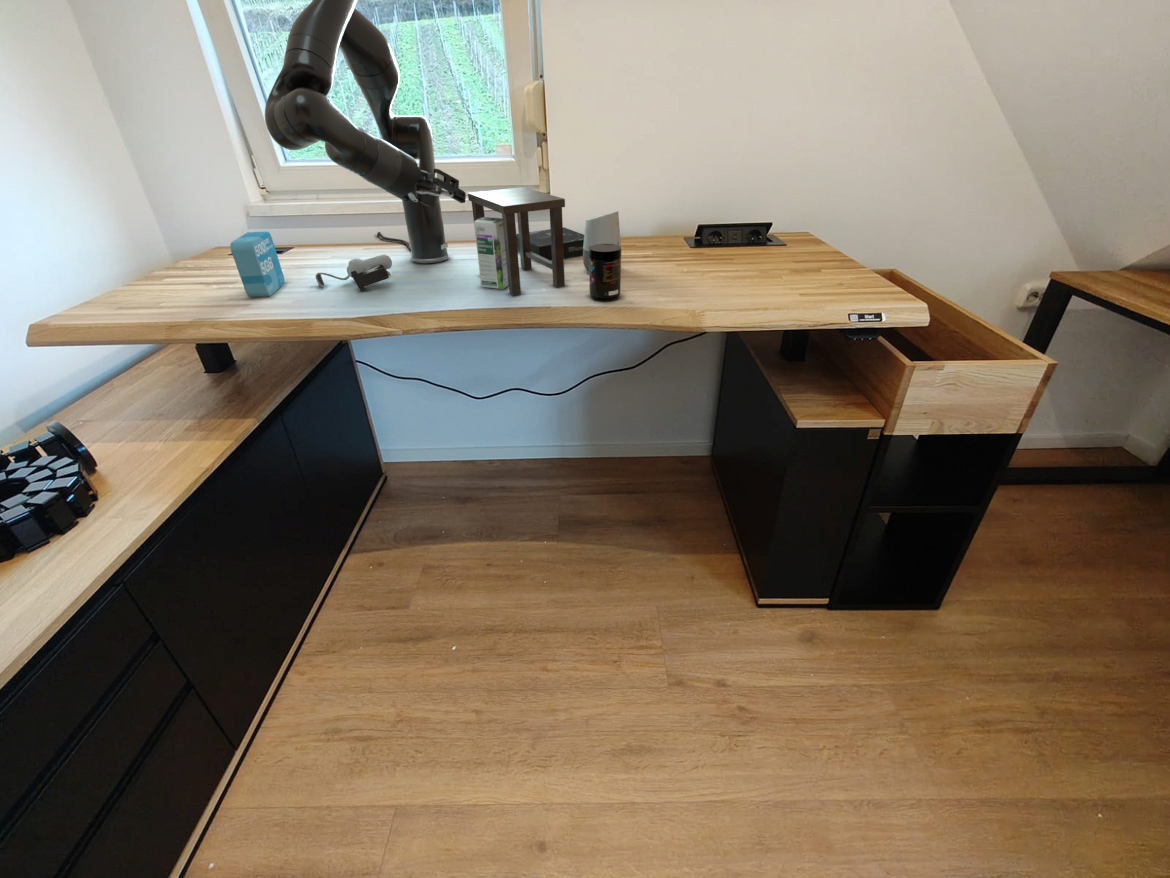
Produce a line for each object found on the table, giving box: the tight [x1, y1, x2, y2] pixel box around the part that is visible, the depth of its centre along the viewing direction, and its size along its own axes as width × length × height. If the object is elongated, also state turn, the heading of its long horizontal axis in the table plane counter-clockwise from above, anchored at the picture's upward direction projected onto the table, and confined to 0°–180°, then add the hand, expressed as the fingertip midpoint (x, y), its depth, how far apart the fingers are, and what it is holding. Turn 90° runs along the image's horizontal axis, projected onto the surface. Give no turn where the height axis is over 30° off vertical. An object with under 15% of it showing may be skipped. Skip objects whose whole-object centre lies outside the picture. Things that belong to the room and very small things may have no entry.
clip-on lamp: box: [315, 253, 393, 292], centre depth 129 cm, size 12×6×18 cm
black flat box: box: [516, 226, 585, 261], centre depth 152 cm, size 16×17×4 cm
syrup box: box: [473, 216, 509, 290], centre depth 124 cm, size 6×6×14 cm
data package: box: [229, 231, 285, 298], centre depth 124 cm, size 12×4×12 cm, turn 8°
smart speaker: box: [582, 210, 622, 273], centre depth 133 cm, size 10×9×14 cm
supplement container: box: [588, 244, 622, 302], centre depth 117 cm, size 7×7×10 cm
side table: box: [467, 186, 566, 297], centre depth 126 cm, size 20×14×19 cm
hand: (448, 200), depth 114 cm, fingers open, 8 cm apart
